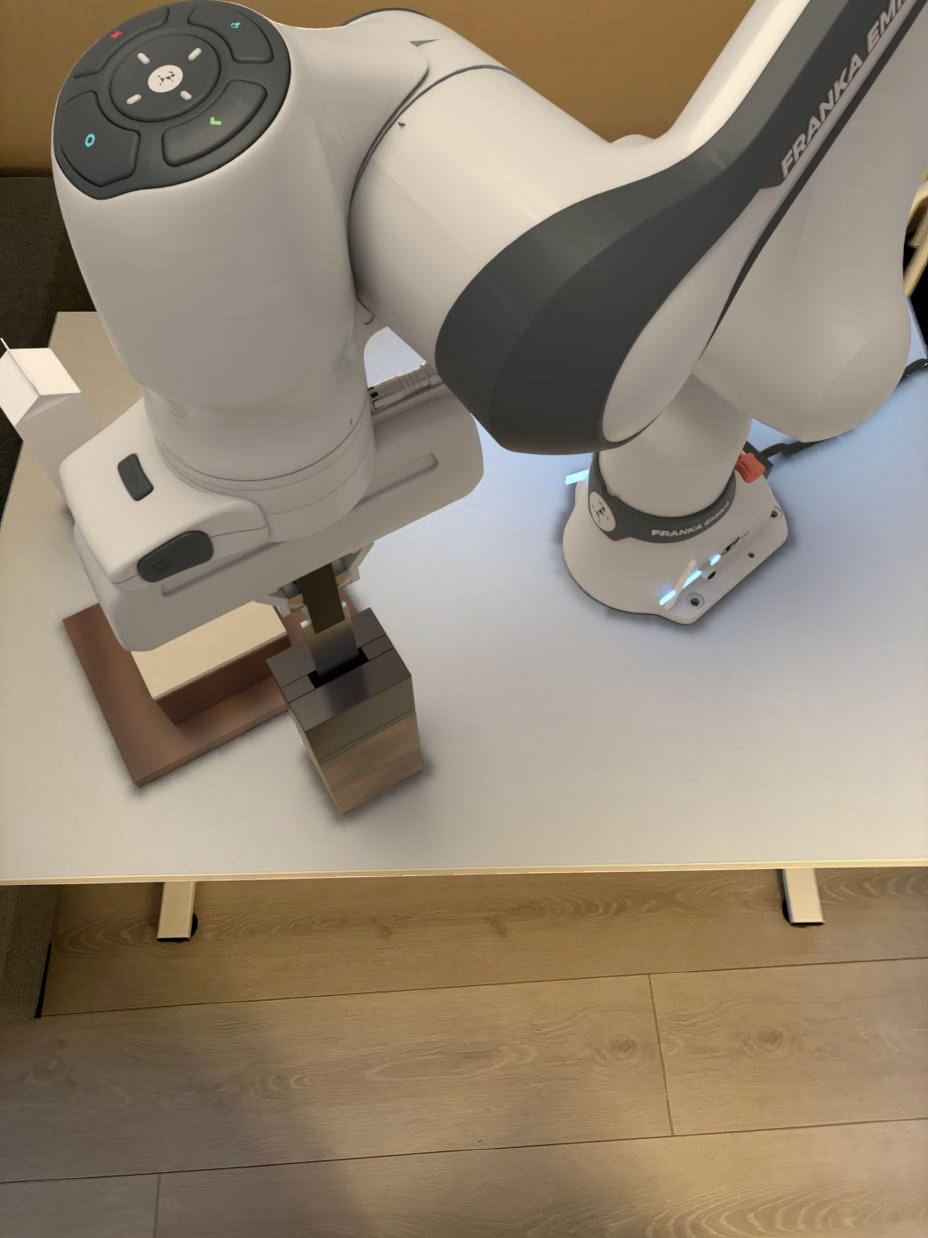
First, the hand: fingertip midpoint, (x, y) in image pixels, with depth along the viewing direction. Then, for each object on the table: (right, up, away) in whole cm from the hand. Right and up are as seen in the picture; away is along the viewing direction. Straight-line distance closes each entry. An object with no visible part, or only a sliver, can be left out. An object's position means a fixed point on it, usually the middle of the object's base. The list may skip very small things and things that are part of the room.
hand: (315, 589), depth 52 cm
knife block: (0, -14, +29) cm, 32 cm away
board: (-14, -4, +34) cm, 37 cm away
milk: (-27, +9, +40) cm, 49 cm away
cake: (-14, -6, +31) cm, 34 cm away
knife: (0, -5, +10) cm, 11 cm away
